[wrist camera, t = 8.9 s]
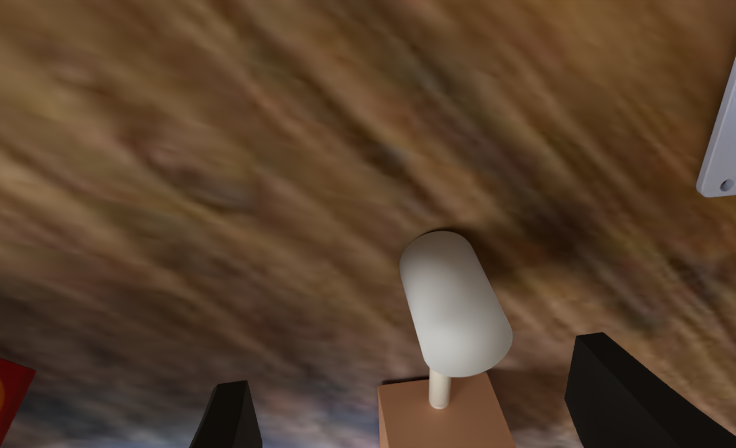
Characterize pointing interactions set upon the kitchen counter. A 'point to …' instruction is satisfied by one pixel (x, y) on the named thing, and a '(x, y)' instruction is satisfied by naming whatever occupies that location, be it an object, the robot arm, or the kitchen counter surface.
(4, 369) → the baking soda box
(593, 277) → the kitchen counter surface
